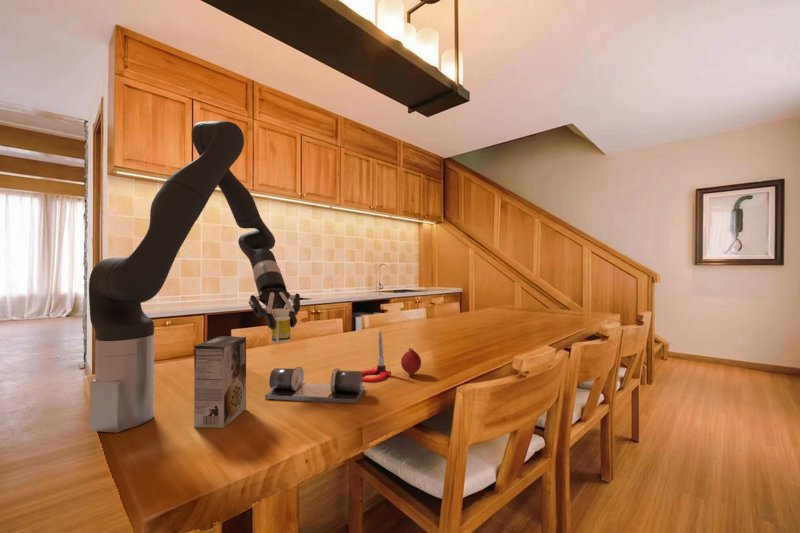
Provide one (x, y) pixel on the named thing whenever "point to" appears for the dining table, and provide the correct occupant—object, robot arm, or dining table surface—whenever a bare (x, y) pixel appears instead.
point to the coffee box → (219, 381)
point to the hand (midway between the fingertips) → (283, 326)
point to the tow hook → (381, 367)
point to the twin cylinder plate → (315, 386)
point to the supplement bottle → (281, 326)
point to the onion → (411, 362)
